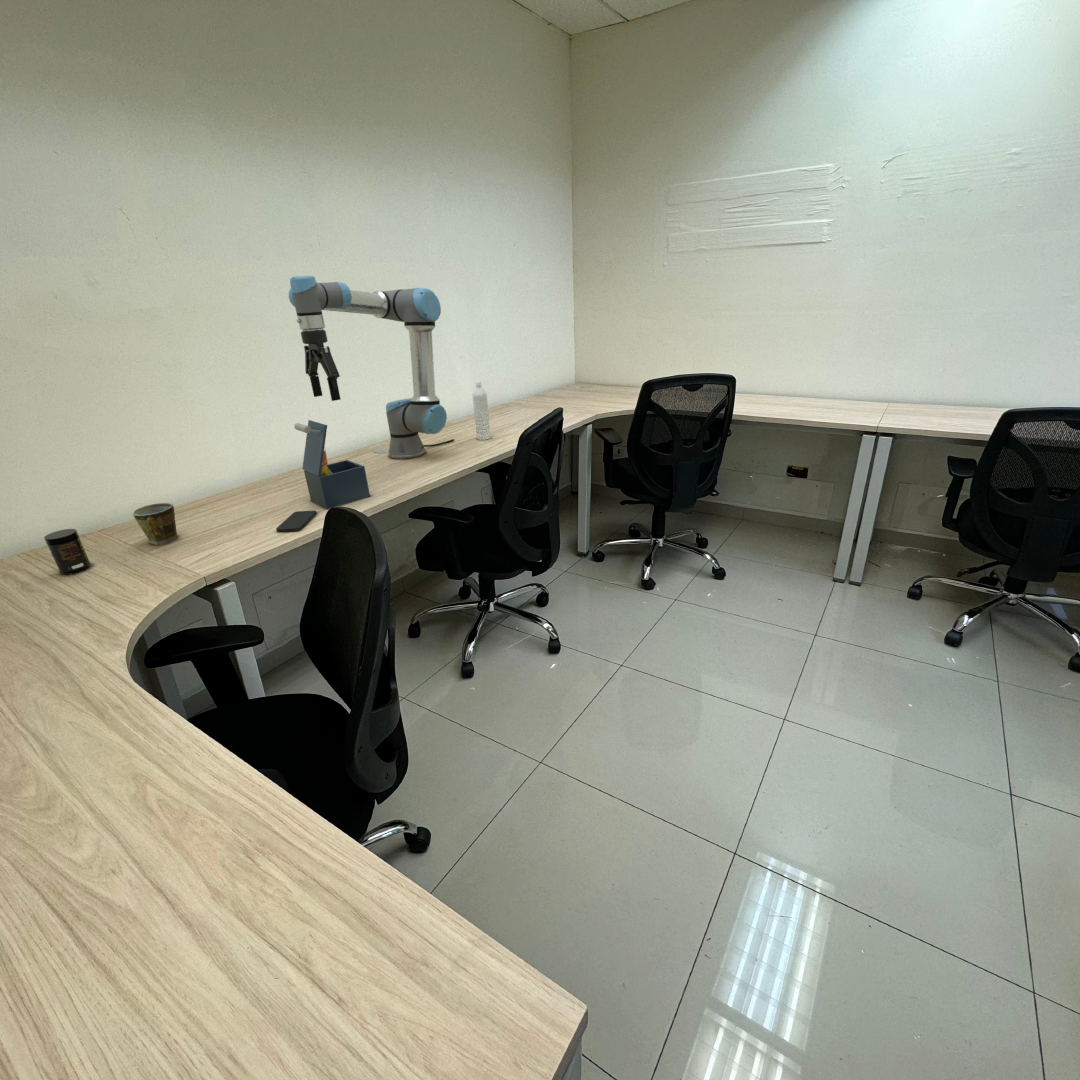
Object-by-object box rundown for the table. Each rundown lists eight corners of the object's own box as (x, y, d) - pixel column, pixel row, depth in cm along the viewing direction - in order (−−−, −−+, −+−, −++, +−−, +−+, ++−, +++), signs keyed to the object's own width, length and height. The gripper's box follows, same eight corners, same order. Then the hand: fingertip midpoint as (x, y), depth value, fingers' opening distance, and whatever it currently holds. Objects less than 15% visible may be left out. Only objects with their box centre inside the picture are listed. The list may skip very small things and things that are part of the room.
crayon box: (343, 495, 186) (321, 468, 180) (336, 499, 186) (313, 472, 180) (344, 486, 193) (322, 460, 186) (336, 491, 192) (314, 464, 186)
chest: (353, 488, 199) (347, 459, 194) (370, 496, 190) (364, 466, 186) (310, 500, 189) (303, 470, 184) (326, 509, 181) (319, 477, 176)
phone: (317, 510, 178) (299, 528, 164) (318, 512, 178) (299, 530, 164) (294, 511, 178) (274, 529, 164) (295, 513, 178) (275, 532, 164)
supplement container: (84, 561, 152) (69, 527, 148) (96, 566, 149) (81, 531, 145) (55, 572, 147) (38, 536, 142) (67, 577, 144) (50, 541, 139)
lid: (310, 420, 182) (292, 417, 177) (327, 425, 173) (308, 422, 169) (304, 469, 185) (286, 467, 180) (320, 476, 176) (301, 474, 172)
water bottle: (491, 439, 254) (486, 383, 243) (476, 440, 253) (471, 384, 243) (490, 435, 262) (485, 381, 251) (476, 436, 261) (471, 382, 251)
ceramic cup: (148, 537, 166) (136, 506, 162) (186, 530, 169) (175, 500, 165) (139, 554, 155) (126, 521, 151) (179, 546, 158) (168, 514, 154)
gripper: (285, 330, 180) (300, 396, 189) (318, 331, 164) (333, 403, 172) (308, 328, 185) (321, 392, 194) (341, 329, 168) (355, 399, 177)
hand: (327, 398), depth 183 cm, fingers open, 13 cm apart
